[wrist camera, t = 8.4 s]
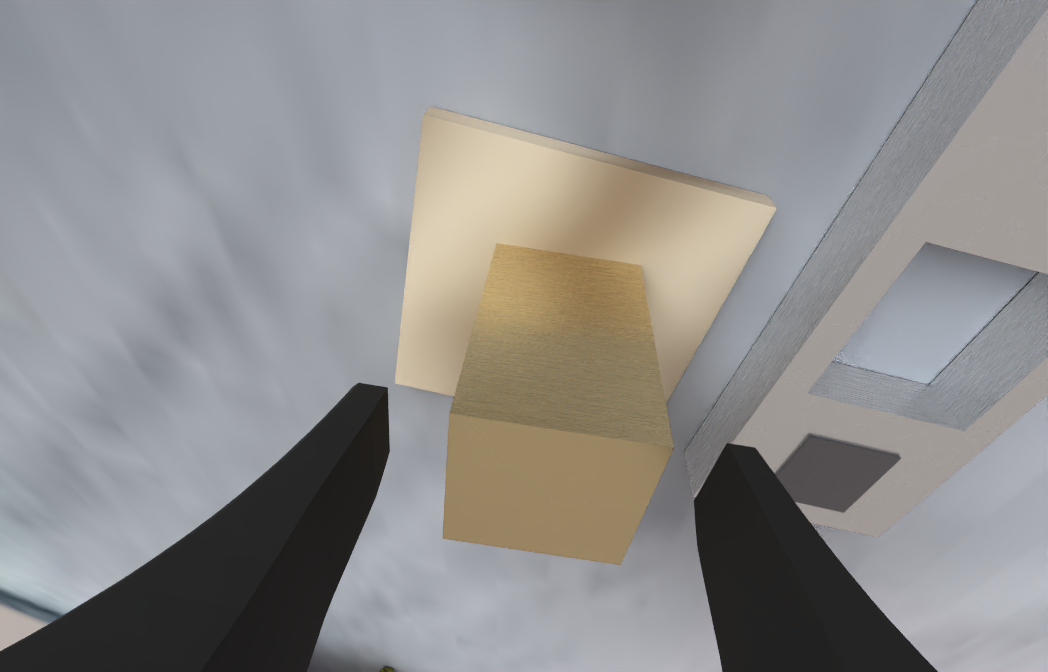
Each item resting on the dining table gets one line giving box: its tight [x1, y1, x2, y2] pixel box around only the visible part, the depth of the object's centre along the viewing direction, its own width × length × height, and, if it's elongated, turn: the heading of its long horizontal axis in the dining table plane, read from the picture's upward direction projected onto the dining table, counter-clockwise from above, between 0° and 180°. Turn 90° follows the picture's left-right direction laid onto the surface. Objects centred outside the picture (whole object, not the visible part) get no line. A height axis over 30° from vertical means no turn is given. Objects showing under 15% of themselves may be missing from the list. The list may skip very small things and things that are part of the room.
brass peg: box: [443, 243, 674, 565], centre depth 13 cm, size 4×4×6 cm
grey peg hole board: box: [684, 0, 1048, 537], centre depth 14 cm, size 7×18×2 cm, turn 167°
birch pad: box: [395, 107, 777, 403], centre depth 16 cm, size 9×9×1 cm
